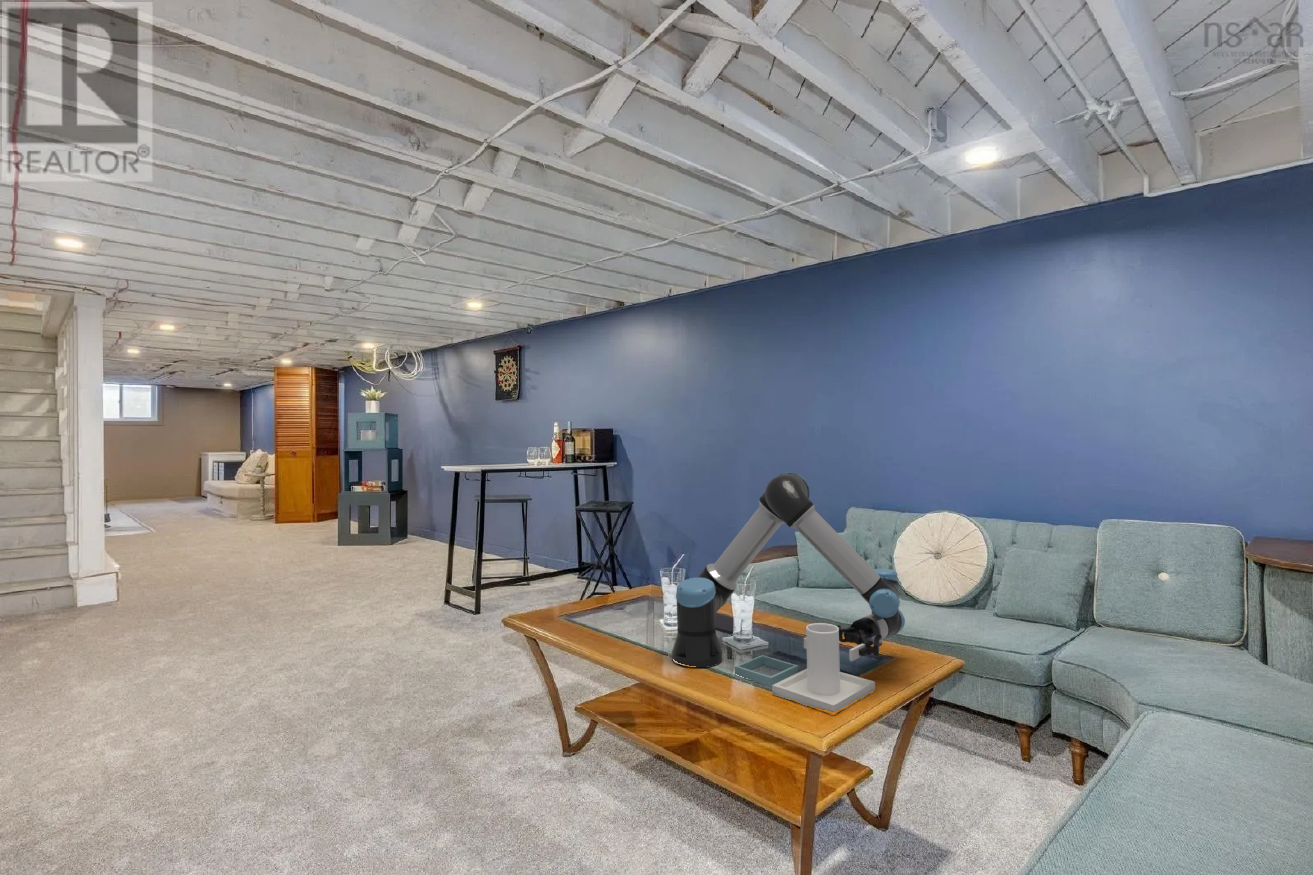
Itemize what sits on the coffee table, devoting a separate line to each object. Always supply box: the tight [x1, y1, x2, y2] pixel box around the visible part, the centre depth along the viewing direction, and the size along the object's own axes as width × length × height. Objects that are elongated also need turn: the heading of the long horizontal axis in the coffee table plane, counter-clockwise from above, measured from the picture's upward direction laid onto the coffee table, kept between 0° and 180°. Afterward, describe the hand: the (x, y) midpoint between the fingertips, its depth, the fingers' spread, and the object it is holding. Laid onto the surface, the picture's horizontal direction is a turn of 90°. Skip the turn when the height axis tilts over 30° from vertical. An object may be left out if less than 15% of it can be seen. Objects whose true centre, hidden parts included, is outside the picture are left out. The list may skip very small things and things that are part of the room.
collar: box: [734, 654, 799, 688], centre depth 179 cm, size 13×13×2 cm
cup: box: [805, 622, 841, 695], centre depth 166 cm, size 8×8×16 cm
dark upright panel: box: [716, 613, 756, 635], centre depth 228 cm, size 13×2×21 cm
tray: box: [771, 668, 876, 712], centre depth 166 cm, size 20×18×2 cm
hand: (826, 649), depth 166 cm, fingers open, 13 cm apart
